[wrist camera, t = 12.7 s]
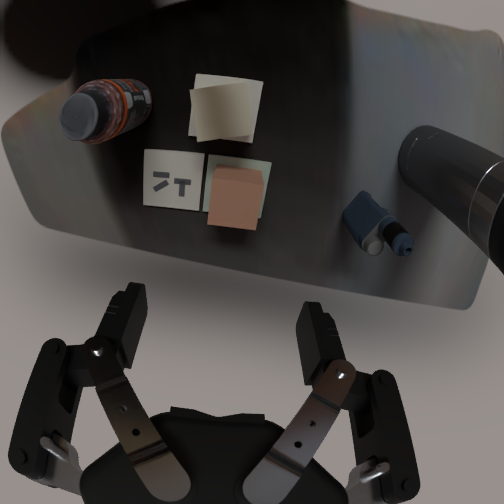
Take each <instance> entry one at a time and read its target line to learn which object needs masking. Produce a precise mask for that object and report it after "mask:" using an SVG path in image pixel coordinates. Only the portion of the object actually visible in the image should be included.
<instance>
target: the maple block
mask: <svg viewBox="0 0 504 504" xmlns="http://www.w3.org/2000/svg"><path fill="white" fill-rule="evenodd" d="M190 96H191V103H192V109H193V116H194V123H195V129H196V135H197V142H201V141H207V140H214V139H222V138H229V137H238V136H247V135H252V126H251V117H250V108H249V98H248V89H247V82H242V83H233V84H225V85H218V86H211V87H205V88H199V89H193V90H190Z"/></svg>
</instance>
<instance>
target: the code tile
mask: <svg viewBox="0 0 504 504" xmlns="http://www.w3.org/2000/svg"><path fill="white" fill-rule="evenodd" d="M204 156H205V154H204V153H194V152H183V151H170V150H156V149H145V150H144V180H143V205H150V206H160V207H169V208H179V209H188V210H197V211H199V206H200V195H201V184H202V174H203V165H204Z"/></svg>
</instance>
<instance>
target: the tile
mask: <svg viewBox="0 0 504 504" xmlns="http://www.w3.org/2000/svg"><path fill="white" fill-rule="evenodd" d="M242 82H247V89H248V98H249V108H250V117H251V126H252V135H247V136H238V137H229V138H222V139H227V140H234V141H242V142H249V143H252V141H253V136H254V130H255V124H256V119H257V113H258V108H259V102H260V97H261V91H262V86H263V82H261V81H255V80H249V79H241V78H234V77H225V76H215V75H203V74H196V80H195V86H194V89H199V88H205V87H211V86H218V85H225V84H233V83H242ZM188 136H197V135H196V129H195V123H194V116H193V109H191V117H190V125H189V134H188Z"/></svg>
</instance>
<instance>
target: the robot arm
mask: <svg viewBox="0 0 504 504" xmlns="http://www.w3.org/2000/svg"><path fill="white" fill-rule="evenodd" d="M399 167H400V172H401V175H402V177H403V179H404V181H405V182H406V183H407V184H408V185H409V186H410V187H411V188H412V189H414V190H415V191H416V192H417V193H419V194H420V195H421V196H422V197H424V198H425V199H426V200H427V201H428V202H430V203H431V204H432V205H433V206H434V207H436V208H437V209H438V210H439V211H440V212H441V213H443V214H444V215H445V216H446V217H447V218H448V219H449V220H450V221H452V222H453V223H454V224H455V225H456V226H457V227H458V228H459V229H460V230H461V231H462V232H463V233H465V234H466V235H467V236H468V237H469V238H470V239H471V240H472V241H473V242H474V243H475V244H476V245H477V246H478V247H479V248H480V249H481V250H482V251H483V252H484V253H485V254H486V255H487V256H488V257H489V258H490V260H492V262H493V263H494V264H495V265H496V266H497V267H498V268H499V269H500V271H501V272H502V273H503V275H504V158H503V157H501V156H499V155H497V154H495V153H493V152H491V151H489V150H487V149H485V148H483V147H481V146H479V145H477V144H474V143H472V142H470V141H468V140H465V139H463V138H461V137H458V136H456V135H454V134H452V133H449V132H447V131H444V130H441V129H439V128H436V127H433V126H421V127H418V128H416V129H414V130H413V131H411V133H410V134H409V135H408V136H407V137H406V139H405V140H404V142H403V144H402V147H401V149H400V154H399ZM147 309H148V306H147V298H146V290H145V285H144V284H141V283H134V282H130V283H129V284H128V286H127V288H126V290H125V291H118V292H117V293H116V294H115V295H114V296H113V297H112V299H111V301H110V303H109V306H108V307H107V310H106V313H105V314H104V316H103V318H102V321H101V323H100V325H99V327H98V330H97V332H96V334H95V336H94V337H91V338H89V339H88V340H86V341H85V343H84V344H82V345H69V346H66V344H65V342H64V341H63V340H61V339H58V338H52V339H49V340H48V341H46V342H45V343H44V344H43V346H42V348H41V351H40V353H39V355H38V358H37V360H36V363H35V365H34V368H33V370H32V373H31V376H30V379H29V381H28V384H27V387H26V390H25V393H24V396H23V399H22V402H21V405H20V408H19V412H18V415H17V419H16V422H15V426H14V430H13V434H12V438H11V442H10V447H9V451H8V458H9V462H10V464H11V466H12V467H13V469H14V470H15V471H17V472H18V473H20V474H22V475H25V476H26V477H27V478H29V479H31V480H33V481H36V482H38V483H40V484H43V485H47V486H49V487H52V488H61V489H64V490H66V491H69V492H72V493H75V494H78V495H81V496H82V499H83V501H84V504H398V503H401V502H405V501H408V500H411V499H412V498H414V497H415V496H416V495H417V493H418V491H419V489H420V478H419V473H418V468H417V463H416V458H415V453H414V448H413V444H412V439H411V435H410V431H409V427H408V423H407V419H406V415H405V411H404V408H403V404H402V400H401V397H400V393H399V390H398V386H397V383H396V380H395V378H394V376H393V375H392V374H391V373H390V372H388V371H386V370H377V371H375V372H374V373H373V374H372V375H371V374H367V373H363V372H359V371H356V369H355V367H354V366H353V365H352V364H351V363H350V362H348V361H346V358H345V354H344V351H343V348H342V344H341V341H340V338H339V336H338V335H339V334H338V331H337V328H336V325H335V321H334V319H333V318H332V317H331V316H330V314H329V313H323V310H322V307H321V304H320V303H319V302H307V301H306V302H305V303H304V304H303V307H302V310H301V312H300V315H299V318H298V320H297V323H296V336H297V342H298V348H299V353H300V359H301V365H302V371H303V377H304V383H305V385H312V388H313V391H312V392H311V394H310V395H309V397H308V398H307V400H306V401H305V403H304V404H303V405H302V407H301V408H300V410H299V411H298V413H297V414H296V415H295V417H294V418H293V420H292V421H291V422H290V424H289V425H288V426H287V428H286V429H283V428H282V427H281V426H279V425H277V424H275V423H273V422H270V421H268V420H265V416H264V414H244V413H243V414H242V413H241V414H235V415H229V416H223V417H215V416H211V415H208V414H206V413H203V412H200V411H197V410H194V409H185V408H178V407H172V406H171V409H170V412H165V413H160V414H157V415H154V416H152V417H150V418H149V417H148V415H147V414H146V412H145V410H144V408H143V407H142V405H141V403H140V401H139V399H138V398H137V396H136V394H135V392H134V390H133V388H132V386H131V384H130V383H129V381H128V379H127V377H126V376H125V374H124V372H123V370H124V368H129V369H131V367H132V363H133V360H134V356H135V353H136V349H137V346H138V343H139V339H140V336H141V333H142V329H143V326H144V323H145V320H146V317H147ZM91 386H95V387H96V388H95V389H96V392H97V395H98V397H99V399H100V402H101V404H102V406H103V408H104V411H105V413H106V415H107V417H108V419H109V421H110V423H111V425H112V427H113V429H114V431H115V433H116V435H117V437H118V439H119V441H120V442H119V443H118V444H116V445H115V446H114V447H112V448H111V449H110V450H109V451H107V452H106V453H105V454H103V455H102V456H101V457H99V458H98V459H97V460H95V461H94V462H93V463H92V464H90V465H89V466H88V467H87V468H86V469H85V470H84V471H82V470H81V468H80V466H79V462H78V453H77V451H76V449H75V448H74V447H73V446H72V445H71V444H70V443H71V437H72V432H73V427H74V422H75V418H76V414H77V409H78V405H79V401H80V397H81V393H82V389H83V387H91ZM341 409H344V410H348V411H349V417H350V423H351V429H352V436H353V443H354V450H355V458H356V467H355V468H354V469H352V471H351V472H350V474H349V482H348V485H347V487H346V488H344V487H343V486H342V485H341V484H340V483H339V482H338V481H337V480H336V479H335V478H334V477H333V476H332V475H331V474H330V473H328V472H327V471H326V470H325V469H324V468H323V467H322V466H321V465H320V464H319V463H318V462H317V461H316V460H315V459H314V458H313V456H314V454H315V452H316V451H317V449H318V448H319V446H320V444H321V443H322V441H323V440H324V438H325V437H326V435H327V433H328V431H329V430H330V428H331V426H332V425H333V423H334V421H335V420H336V418H337V416H338V414H339V412H340V410H341Z"/></svg>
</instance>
